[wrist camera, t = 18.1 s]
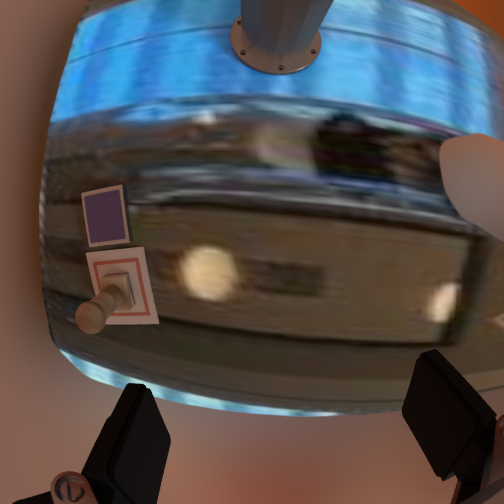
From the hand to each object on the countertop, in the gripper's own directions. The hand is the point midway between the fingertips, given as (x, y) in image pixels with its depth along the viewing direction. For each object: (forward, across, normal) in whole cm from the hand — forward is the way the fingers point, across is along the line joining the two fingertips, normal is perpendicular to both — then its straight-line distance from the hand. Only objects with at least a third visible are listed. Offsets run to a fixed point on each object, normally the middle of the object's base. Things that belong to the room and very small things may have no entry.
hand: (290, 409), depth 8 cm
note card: (+30, +21, +6) cm, 37 cm away
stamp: (+30, +21, +6) cm, 37 cm away
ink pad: (+30, +21, -5) cm, 37 cm away
